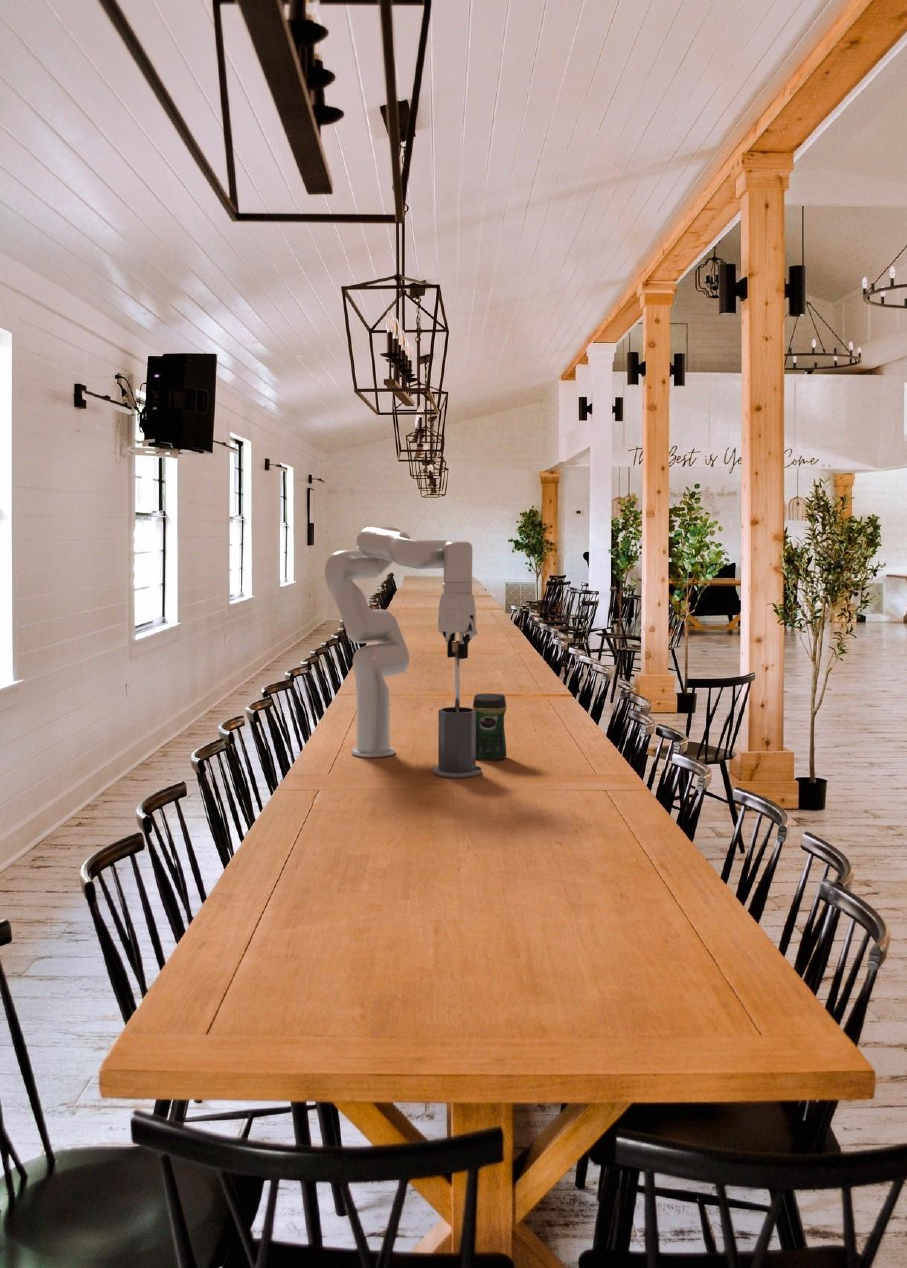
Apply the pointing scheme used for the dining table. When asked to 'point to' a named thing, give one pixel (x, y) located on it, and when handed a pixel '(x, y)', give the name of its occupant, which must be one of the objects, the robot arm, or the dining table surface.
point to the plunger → (456, 675)
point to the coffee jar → (490, 726)
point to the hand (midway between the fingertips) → (457, 657)
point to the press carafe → (457, 744)
